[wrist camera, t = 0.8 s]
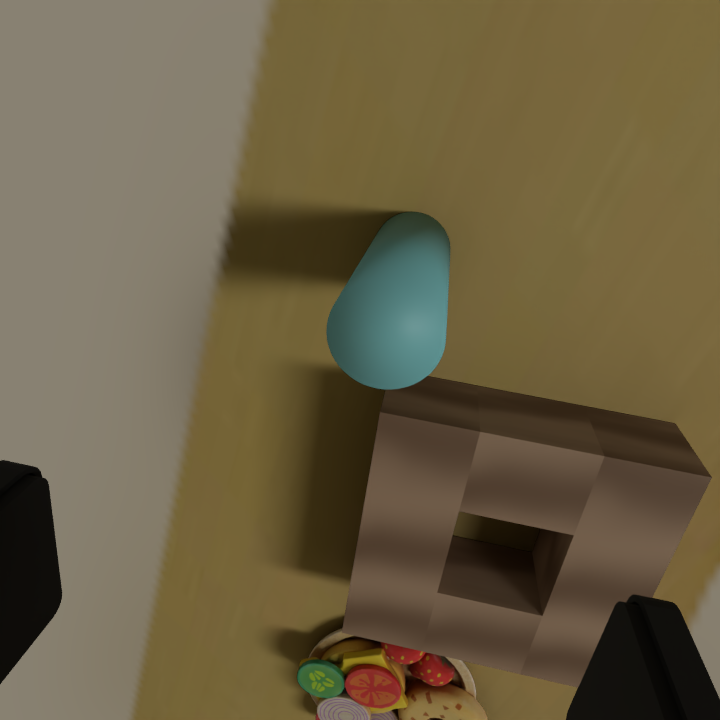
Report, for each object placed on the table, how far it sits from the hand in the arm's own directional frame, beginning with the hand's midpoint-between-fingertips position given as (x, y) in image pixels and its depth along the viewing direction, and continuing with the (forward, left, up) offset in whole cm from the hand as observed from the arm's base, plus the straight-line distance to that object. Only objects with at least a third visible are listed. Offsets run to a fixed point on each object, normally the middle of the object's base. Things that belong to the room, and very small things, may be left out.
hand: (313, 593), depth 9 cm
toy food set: (+33, +4, -23) cm, 40 cm away
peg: (0, 0, -23) cm, 23 cm away
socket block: (+15, +8, -23) cm, 28 cm away
